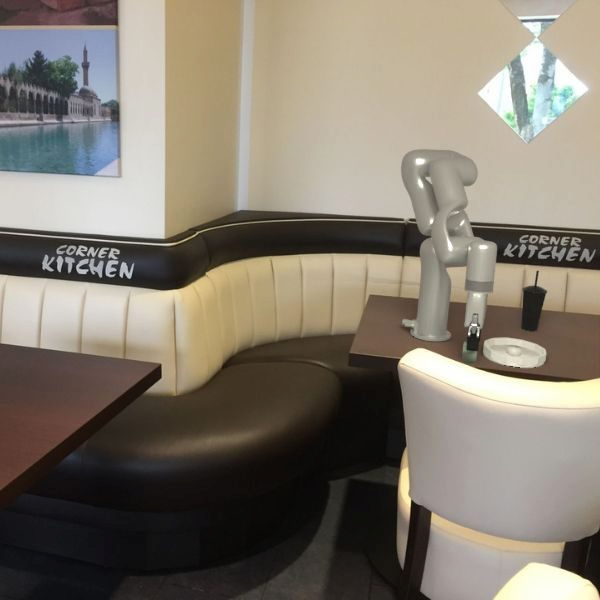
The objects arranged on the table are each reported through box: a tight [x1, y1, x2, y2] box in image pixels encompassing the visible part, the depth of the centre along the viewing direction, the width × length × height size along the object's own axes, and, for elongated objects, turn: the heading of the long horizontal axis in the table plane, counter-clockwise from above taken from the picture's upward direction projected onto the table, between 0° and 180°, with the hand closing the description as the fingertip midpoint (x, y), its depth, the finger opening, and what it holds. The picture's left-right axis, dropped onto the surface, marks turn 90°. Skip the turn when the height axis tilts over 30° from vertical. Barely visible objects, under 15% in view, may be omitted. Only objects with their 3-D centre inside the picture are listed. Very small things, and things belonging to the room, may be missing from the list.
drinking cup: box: [521, 270, 548, 332], centre depth 198 cm, size 8×8×20 cm
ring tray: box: [482, 336, 547, 369], centre depth 174 cm, size 17×17×3 cm
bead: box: [461, 340, 478, 364], centre depth 170 cm, size 4×4×5 cm
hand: (473, 345), depth 168 cm, fingers open, 9 cm apart
